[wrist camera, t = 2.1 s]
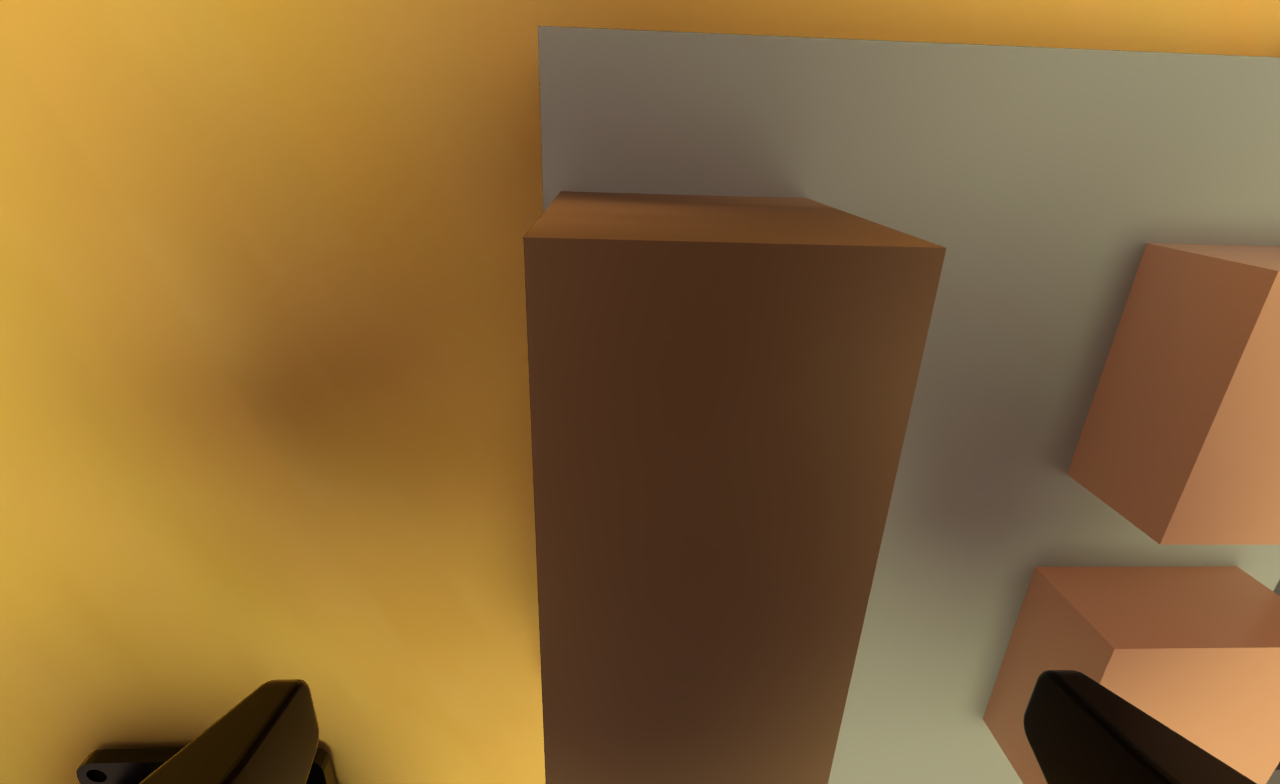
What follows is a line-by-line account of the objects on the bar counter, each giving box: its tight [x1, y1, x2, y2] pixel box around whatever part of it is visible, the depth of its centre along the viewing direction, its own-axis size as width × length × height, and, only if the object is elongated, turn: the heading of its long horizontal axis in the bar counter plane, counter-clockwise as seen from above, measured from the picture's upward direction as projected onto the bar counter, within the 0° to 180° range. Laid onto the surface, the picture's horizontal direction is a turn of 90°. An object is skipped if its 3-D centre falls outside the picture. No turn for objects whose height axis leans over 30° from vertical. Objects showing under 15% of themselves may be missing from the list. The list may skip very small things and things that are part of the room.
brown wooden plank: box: [524, 191, 946, 784], centre depth 9 cm, size 4×11×4 cm, turn 178°
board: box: [538, 26, 1280, 784], centre depth 13 cm, size 14×15×4 cm
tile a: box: [983, 566, 1280, 784], centre depth 12 cm, size 4×4×2 cm
